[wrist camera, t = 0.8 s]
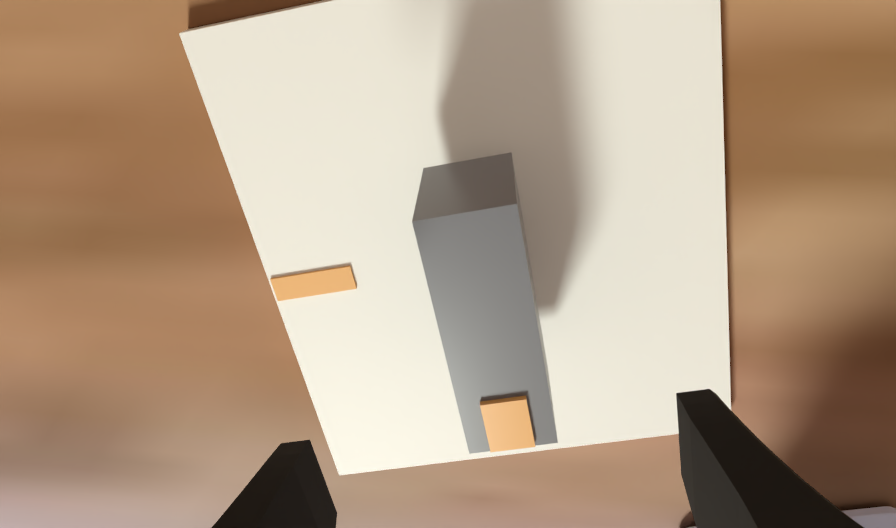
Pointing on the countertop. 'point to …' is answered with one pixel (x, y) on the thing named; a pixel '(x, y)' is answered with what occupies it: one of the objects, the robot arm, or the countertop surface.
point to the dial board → (539, 187)
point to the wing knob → (485, 302)
